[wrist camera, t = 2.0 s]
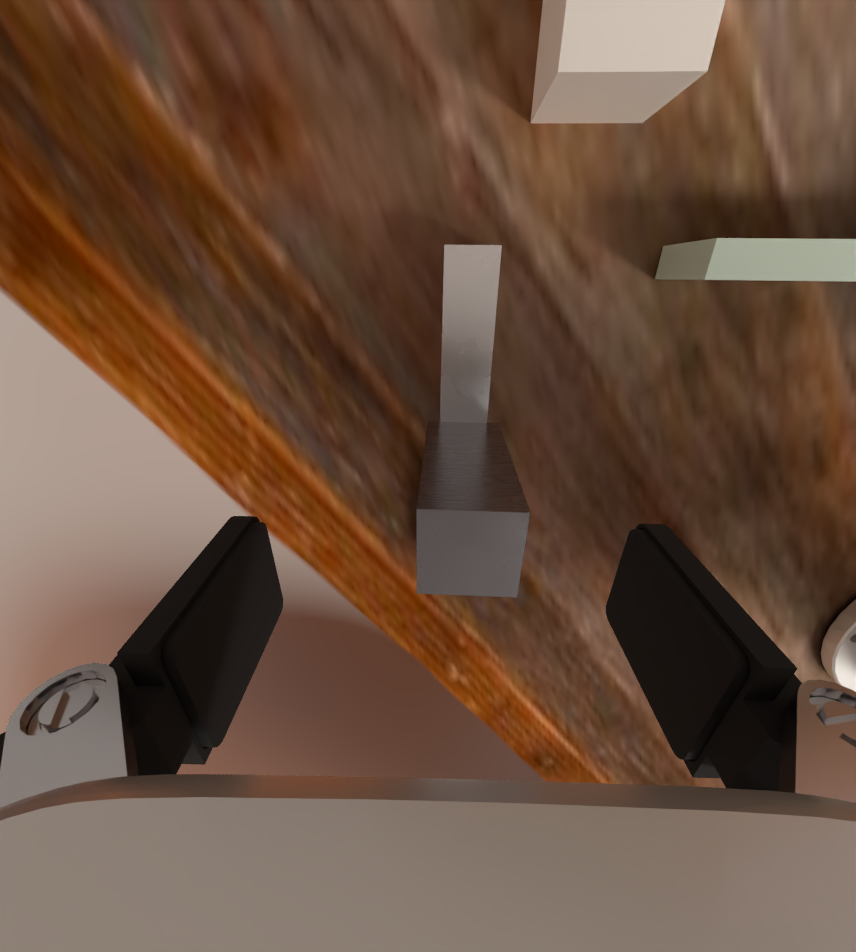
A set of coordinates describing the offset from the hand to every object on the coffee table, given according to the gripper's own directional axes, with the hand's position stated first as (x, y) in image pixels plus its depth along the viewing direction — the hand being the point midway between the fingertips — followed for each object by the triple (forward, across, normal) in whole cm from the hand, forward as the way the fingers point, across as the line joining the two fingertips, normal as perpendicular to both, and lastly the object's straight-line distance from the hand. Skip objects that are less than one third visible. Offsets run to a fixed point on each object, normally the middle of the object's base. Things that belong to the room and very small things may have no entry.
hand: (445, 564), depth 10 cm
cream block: (+11, -5, -14) cm, 18 cm away
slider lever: (+11, -1, 0) cm, 11 cm away
